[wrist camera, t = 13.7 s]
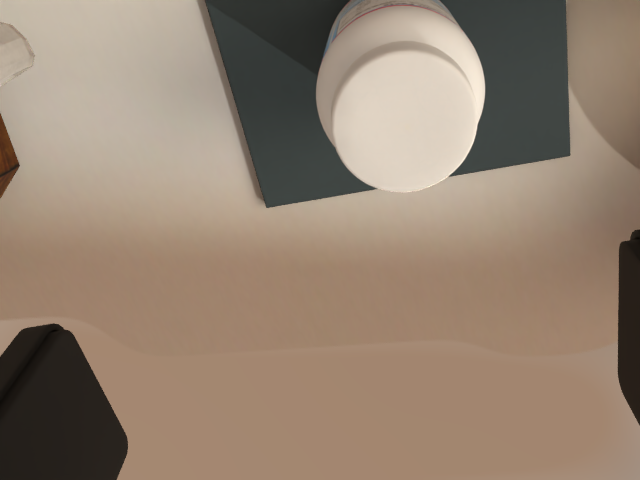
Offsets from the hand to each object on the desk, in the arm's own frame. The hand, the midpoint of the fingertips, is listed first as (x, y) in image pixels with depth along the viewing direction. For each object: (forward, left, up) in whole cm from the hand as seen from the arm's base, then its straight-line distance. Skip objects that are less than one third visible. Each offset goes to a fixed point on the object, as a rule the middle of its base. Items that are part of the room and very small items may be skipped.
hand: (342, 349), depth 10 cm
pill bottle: (+2, 0, -22) cm, 22 cm away
